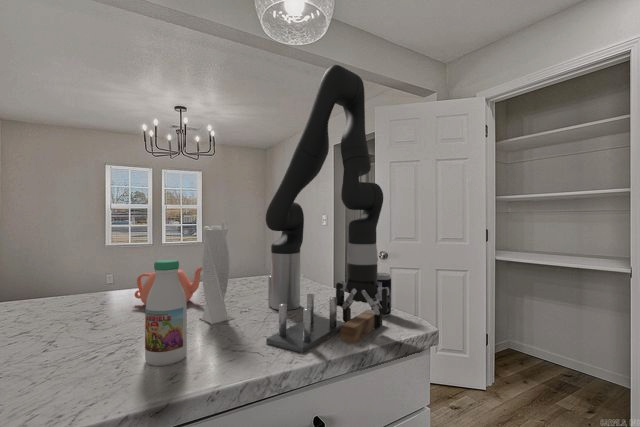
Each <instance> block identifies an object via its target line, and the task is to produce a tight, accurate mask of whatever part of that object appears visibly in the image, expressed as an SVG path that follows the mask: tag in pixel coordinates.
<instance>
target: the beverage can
mask: <svg viewBox="0 0 640 427" xmlns="http://www.w3.org/2000/svg"><path fill="white" fill-rule="evenodd" d="M377 284H378V287H383V288H385V287H389V288H390V311H388V312H387V313H385V314H384V313H383V314H382V318H387V317H389V315H390V314H392V277H391V275H390V273H386V272H377ZM376 297H377V298H378V300H379V303H380V305H381V307H382V296H380V293H379V292H378V293H377V294H376ZM370 308H371V309H370V310H373V308H372V307H370Z"/></svg>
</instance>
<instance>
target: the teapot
mask: <svg viewBox="0 0 640 427" xmlns="http://www.w3.org/2000/svg"><path fill="white" fill-rule="evenodd" d="M201 274H202V266H200V267H198V268H196V270H195V272H194V278H193V281H192V282H191V281H190V279H189V277H188V276H187V274H186V273H185V272H184V270H182V269H179V271H178V278H179V281H180V284H181V286H182V288H183V290H184V292H185V296H186V304H187V303H188V302H189V301H190V300H191V298H192V297H193V294H194V293H196V291H197V290H198V289H199V287H200V282H201V281H200V280H201ZM155 275H156V274H155V272H154V271H153V272H151V273H150V272H142V273H141V274H139V275H138V276H137V278H136V284H137V287H138V288H137V289H138V290H136V291H135V292H134V297H135V298H136V299H139V300H141V302H142V303H143V304H144V306H146V301H147V297H148V294H149V292H150V290H151V288H152V286H153V283H154V280H155ZM143 277H148V278H147V279H146V280H145V282H144V284H143V285H142V278H143Z"/></svg>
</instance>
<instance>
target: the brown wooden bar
mask: <svg viewBox="0 0 640 427" xmlns="http://www.w3.org/2000/svg"><path fill="white" fill-rule="evenodd" d="M374 315H375V312H374V310H371V309H370V308H368V309H365V310H364V311H363V312H361V313H359V314H357V315H356V316H354V317H351V320H349V321H347V322H346V323H344V324H342V325H341V330H340V341H343V342H348V343H351V344H355V343H356V342H358V341H359V340H360V339H362V338H363V337H365V336H366V335H367V334H369V333H370V332H371V331H373V330H375V329H374Z"/></svg>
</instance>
